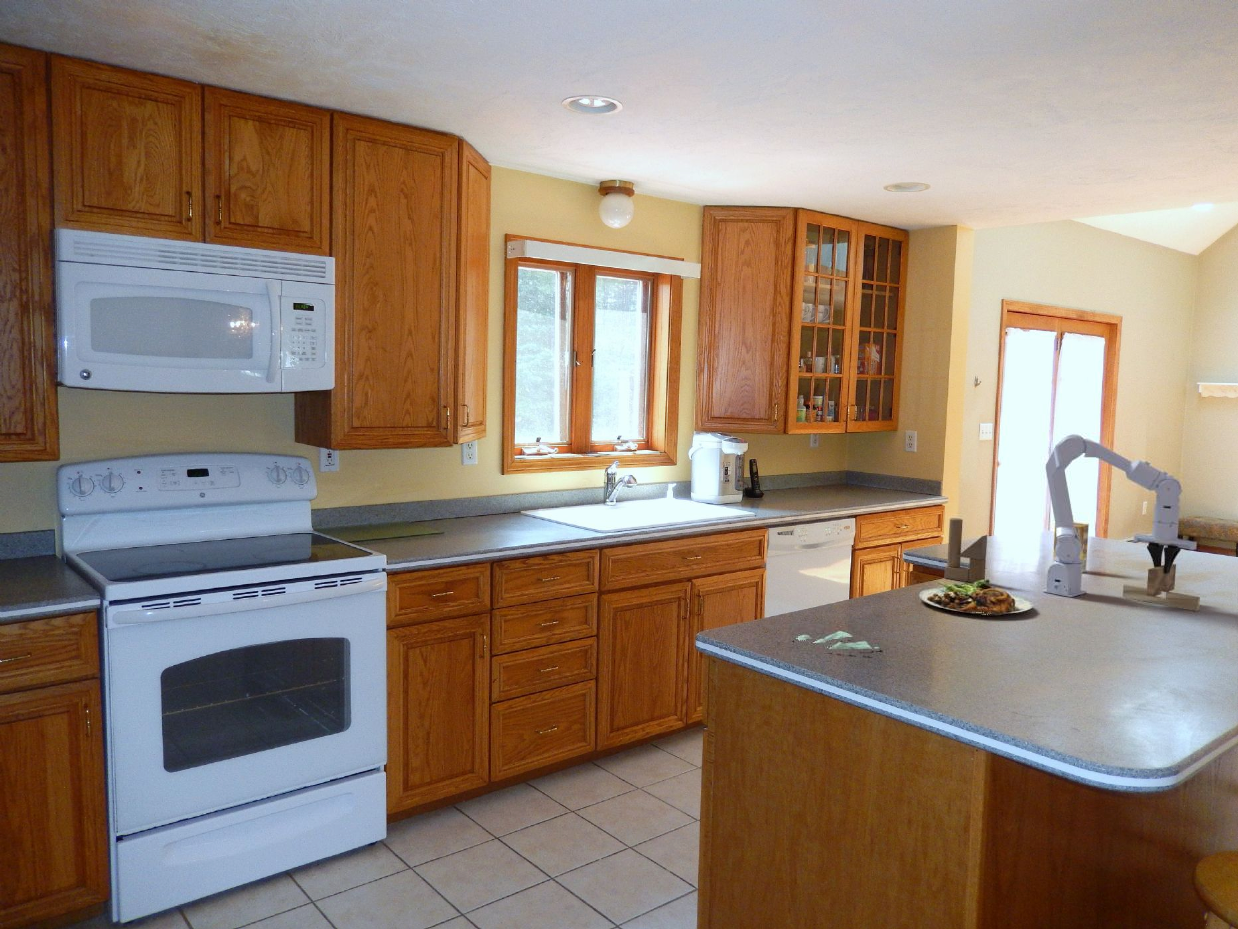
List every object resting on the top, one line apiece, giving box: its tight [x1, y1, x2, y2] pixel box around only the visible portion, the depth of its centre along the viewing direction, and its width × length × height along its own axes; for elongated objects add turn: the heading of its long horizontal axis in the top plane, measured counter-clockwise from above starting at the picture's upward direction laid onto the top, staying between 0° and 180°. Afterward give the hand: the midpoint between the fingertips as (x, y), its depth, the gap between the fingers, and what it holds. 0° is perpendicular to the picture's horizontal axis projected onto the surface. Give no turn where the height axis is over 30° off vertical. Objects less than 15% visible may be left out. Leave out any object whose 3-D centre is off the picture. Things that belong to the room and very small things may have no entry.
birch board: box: [1122, 583, 1201, 612], centre depth 237 cm, size 2×18×4 cm, turn 38°
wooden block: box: [944, 517, 988, 584], centre depth 261 cm, size 4×11×18 cm, turn 47°
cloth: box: [796, 630, 882, 650], centre depth 194 cm, size 20×22×2 cm
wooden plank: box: [1146, 563, 1177, 597], centre depth 237 cm, size 14×2×7 cm, turn 128°
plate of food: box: [918, 578, 1034, 616], centre depth 232 cm, size 28×28×6 cm
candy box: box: [1052, 521, 1090, 574], centre depth 279 cm, size 9×4×15 cm, turn 44°
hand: (1162, 572), depth 237 cm, fingers closed on wooden plank, 2 cm apart
